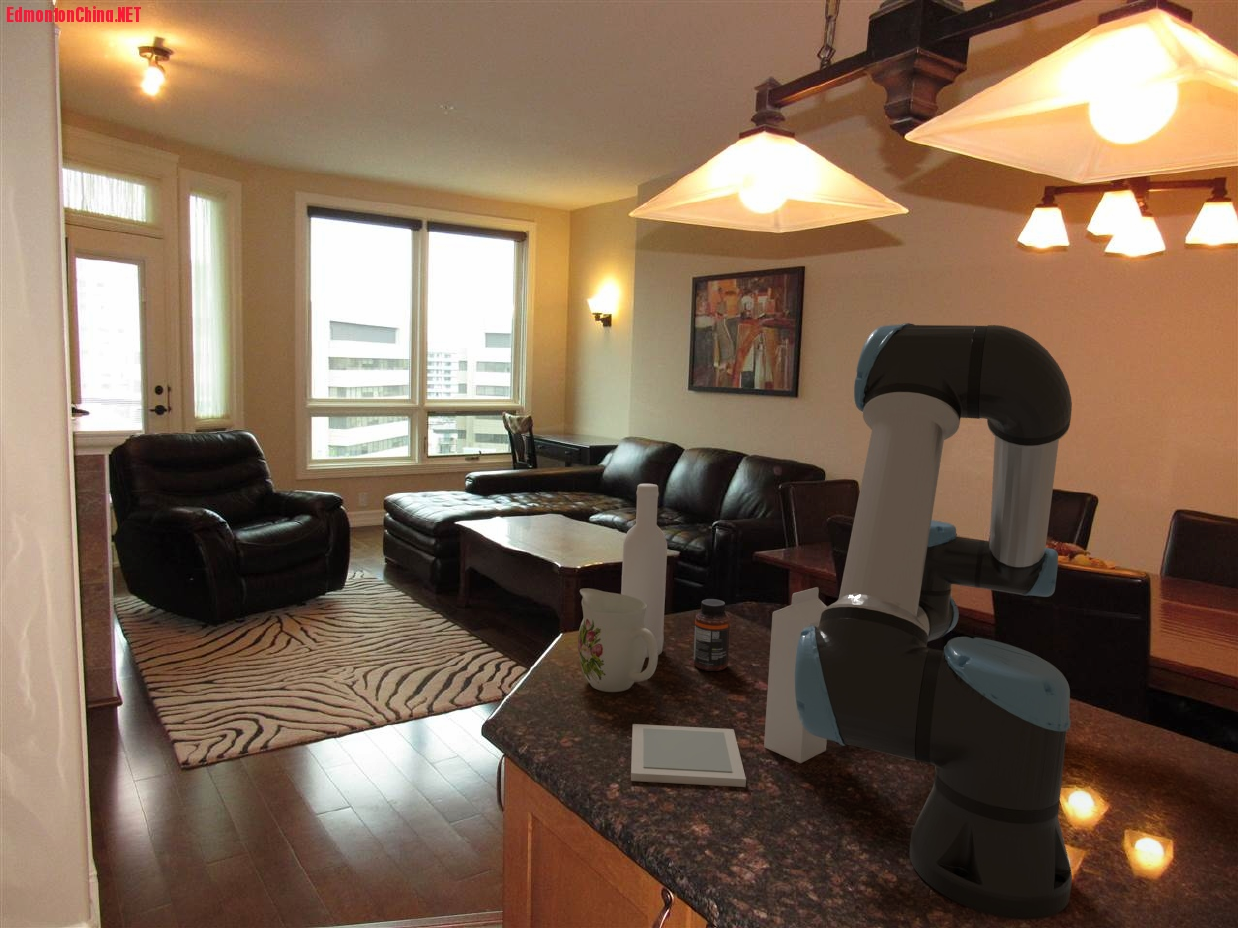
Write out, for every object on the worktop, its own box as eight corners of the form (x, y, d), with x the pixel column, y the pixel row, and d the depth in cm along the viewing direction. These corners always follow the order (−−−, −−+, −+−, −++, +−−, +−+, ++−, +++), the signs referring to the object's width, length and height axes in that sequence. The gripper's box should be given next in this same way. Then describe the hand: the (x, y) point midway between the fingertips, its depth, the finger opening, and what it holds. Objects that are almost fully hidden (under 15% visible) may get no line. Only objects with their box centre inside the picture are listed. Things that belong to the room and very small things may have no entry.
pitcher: (626, 713, 120) (630, 622, 119) (553, 675, 134) (555, 593, 132) (679, 696, 127) (684, 610, 126) (605, 662, 141) (608, 583, 139)
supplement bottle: (711, 657, 145) (715, 595, 144) (735, 668, 140) (739, 603, 139) (685, 663, 142) (689, 599, 140) (708, 674, 137) (712, 608, 136)
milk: (826, 751, 111) (839, 592, 108) (800, 764, 107) (813, 599, 104) (788, 735, 115) (800, 581, 113) (762, 747, 111) (773, 588, 109)
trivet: (745, 786, 100) (746, 777, 100) (630, 780, 101) (631, 771, 101) (733, 735, 114) (733, 728, 114) (632, 730, 115) (632, 722, 115)
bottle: (634, 640, 153) (641, 480, 149) (671, 649, 148) (679, 485, 145) (609, 651, 146) (616, 484, 143) (647, 661, 142) (654, 489, 138)
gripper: (971, 675, 119) (897, 713, 104) (822, 631, 137) (741, 657, 122) (975, 625, 118) (902, 656, 103) (825, 586, 136) (744, 608, 121)
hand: (814, 657), depth 113 cm, fingers open, 13 cm apart
